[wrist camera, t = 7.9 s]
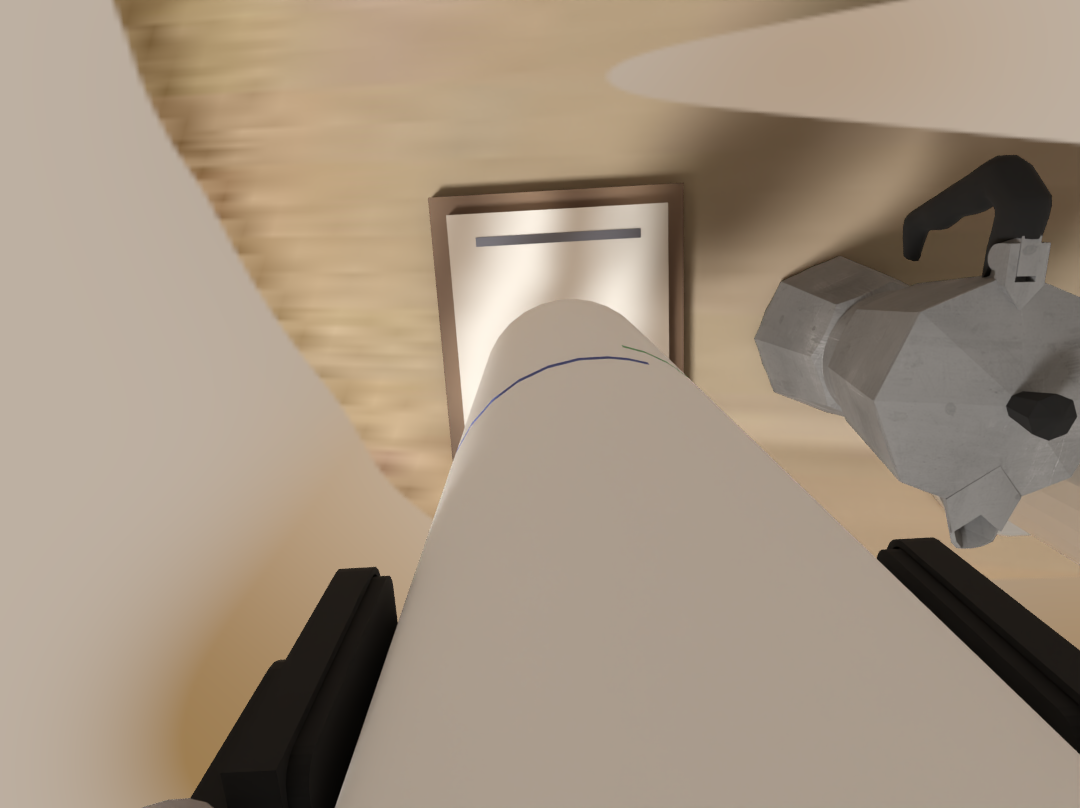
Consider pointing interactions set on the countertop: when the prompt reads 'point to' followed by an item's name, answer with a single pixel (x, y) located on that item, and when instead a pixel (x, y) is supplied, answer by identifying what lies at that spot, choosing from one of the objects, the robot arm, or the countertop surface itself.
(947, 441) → the coffeepot
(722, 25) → the countertop surface
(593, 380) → the cylindrical container
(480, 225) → the notepad
